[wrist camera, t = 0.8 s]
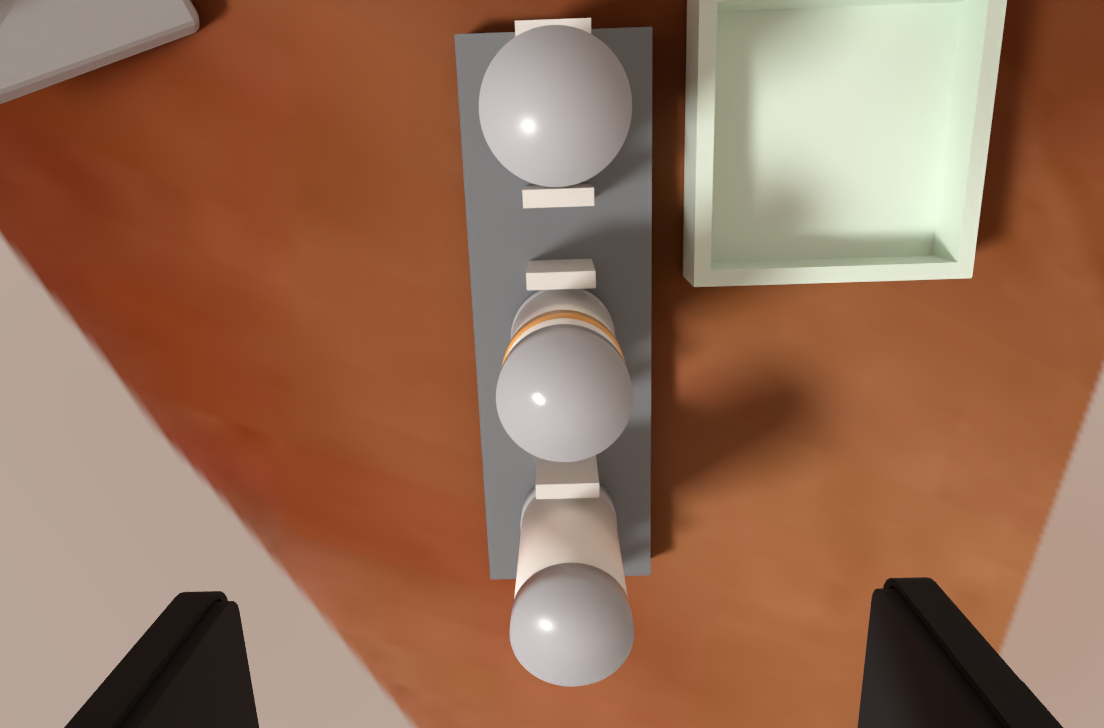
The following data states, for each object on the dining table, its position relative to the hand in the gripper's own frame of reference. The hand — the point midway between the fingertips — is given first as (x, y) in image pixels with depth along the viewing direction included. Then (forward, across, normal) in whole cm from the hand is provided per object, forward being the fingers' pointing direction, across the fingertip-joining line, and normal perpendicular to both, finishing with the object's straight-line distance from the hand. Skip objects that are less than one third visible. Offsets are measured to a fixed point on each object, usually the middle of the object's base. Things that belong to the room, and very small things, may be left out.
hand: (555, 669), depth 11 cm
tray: (+20, -10, -7) cm, 24 cm away
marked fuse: (+19, 0, 0) cm, 19 cm away
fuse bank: (+20, 0, 0) cm, 20 cm away
